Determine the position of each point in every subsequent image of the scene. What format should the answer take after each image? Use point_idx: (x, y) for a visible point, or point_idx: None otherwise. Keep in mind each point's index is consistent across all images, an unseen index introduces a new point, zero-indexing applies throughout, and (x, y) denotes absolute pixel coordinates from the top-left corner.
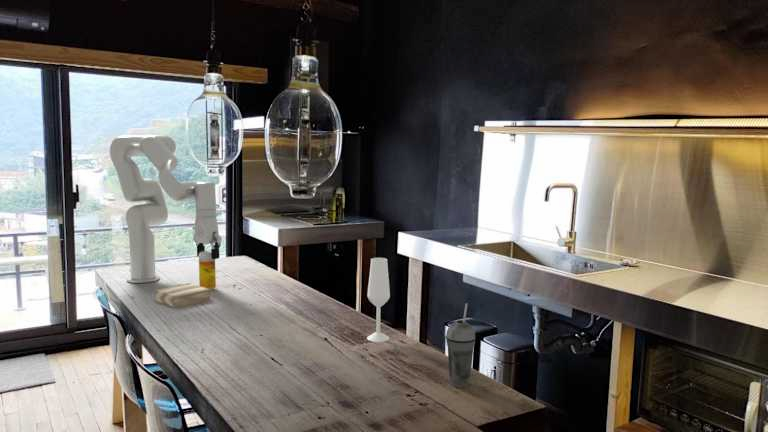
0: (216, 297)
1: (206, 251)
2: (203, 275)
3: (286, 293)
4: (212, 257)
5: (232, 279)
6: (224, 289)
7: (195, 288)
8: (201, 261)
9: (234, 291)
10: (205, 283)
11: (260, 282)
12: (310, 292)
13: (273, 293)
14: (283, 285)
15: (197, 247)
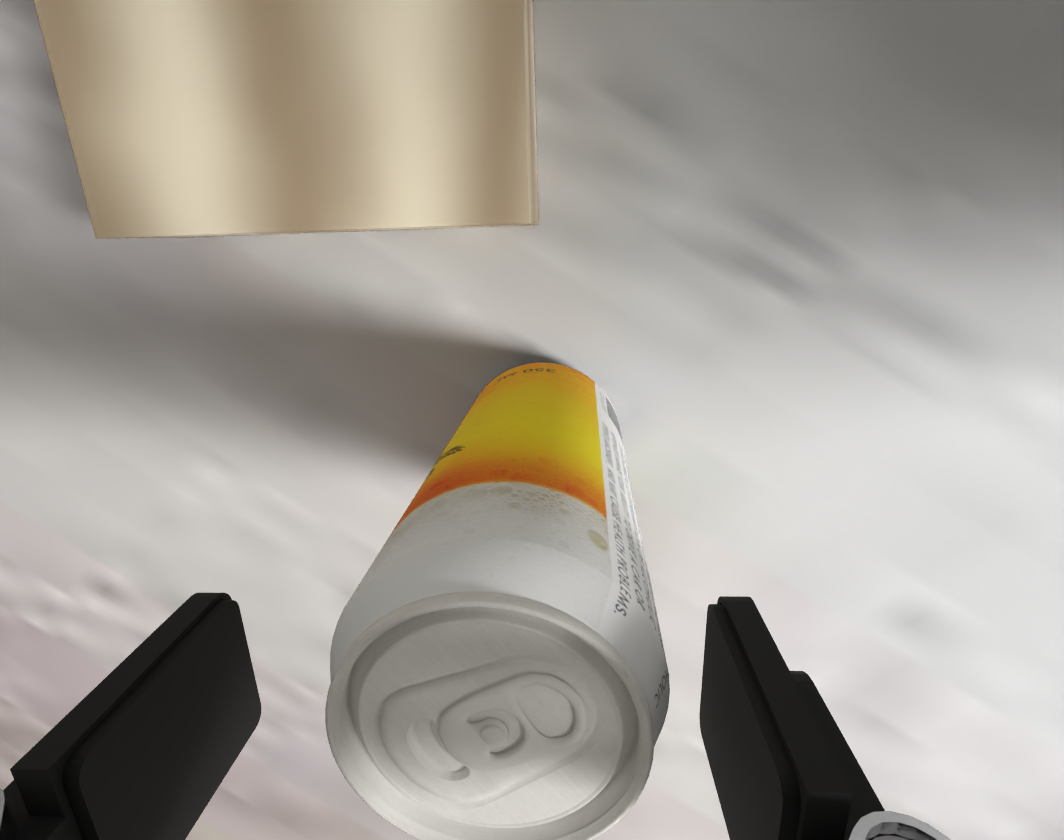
0: (232, 325)
1: (603, 787)
2: (480, 416)
3: (56, 722)
4: (181, 614)
5: (696, 749)
6: None
7: (220, 125)
8: (464, 486)
9: (326, 539)
10: (479, 399)
11: None
12: None
13: (102, 674)
14: (265, 832)
15: (799, 768)
